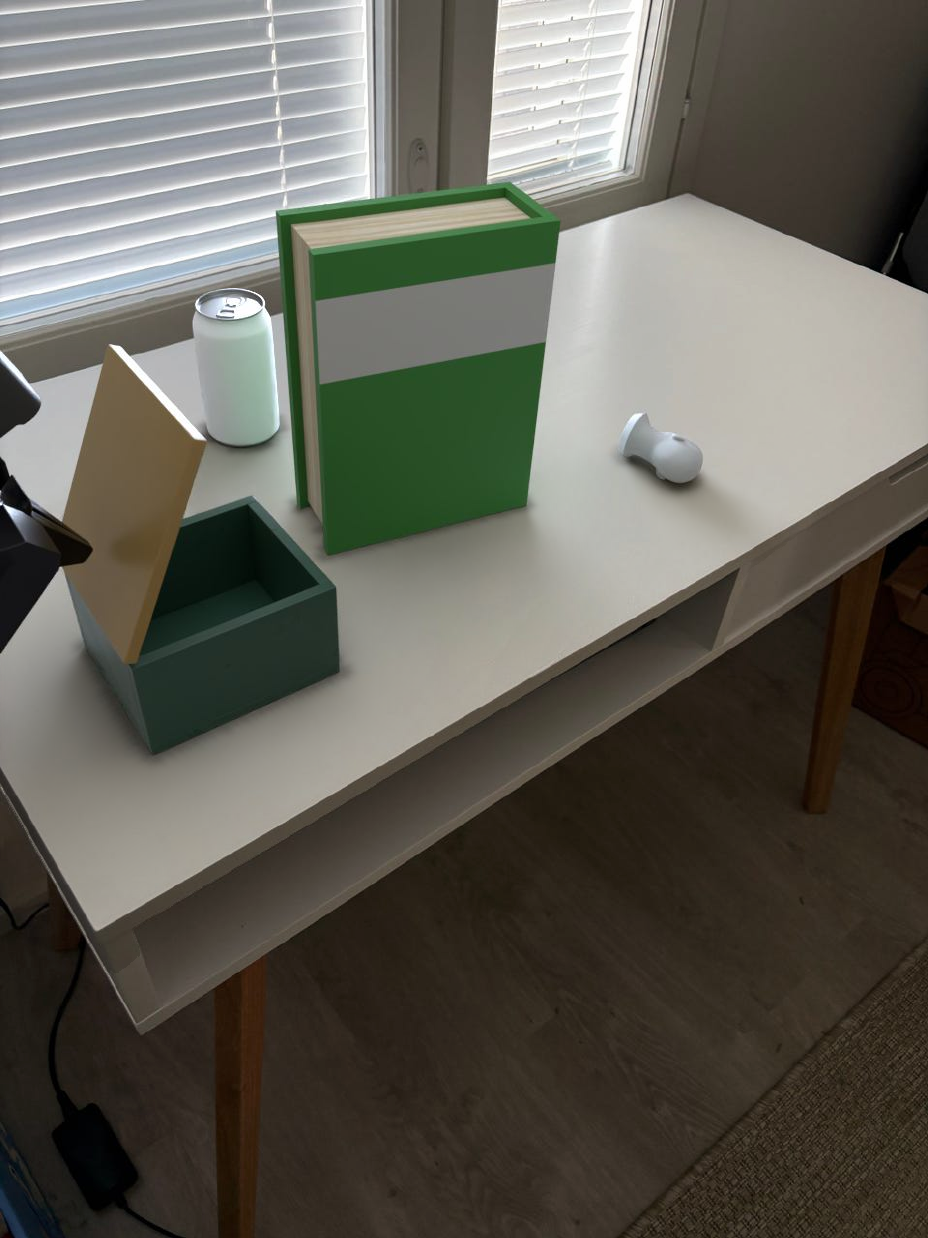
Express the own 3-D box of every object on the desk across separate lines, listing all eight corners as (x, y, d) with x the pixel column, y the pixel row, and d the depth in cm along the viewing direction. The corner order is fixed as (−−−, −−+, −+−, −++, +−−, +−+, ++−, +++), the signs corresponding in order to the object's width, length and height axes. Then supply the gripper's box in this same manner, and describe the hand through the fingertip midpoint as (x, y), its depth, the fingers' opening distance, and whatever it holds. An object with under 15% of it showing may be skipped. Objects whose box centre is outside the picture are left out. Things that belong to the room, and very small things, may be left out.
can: (287, 413, 93) (278, 289, 85) (270, 452, 88) (258, 325, 80) (218, 406, 93) (202, 282, 85) (197, 444, 89) (178, 317, 81)
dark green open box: (261, 578, 76) (252, 494, 71) (340, 671, 70) (336, 586, 64) (84, 646, 70) (60, 560, 65) (152, 756, 63) (131, 669, 58)
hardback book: (327, 555, 79) (313, 254, 62) (296, 502, 83) (275, 210, 67) (526, 505, 85) (560, 220, 69) (486, 458, 90) (510, 181, 73)
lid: (120, 345, 59) (107, 343, 58) (208, 440, 52) (194, 439, 51) (65, 554, 65) (52, 554, 64) (136, 664, 58) (123, 664, 58)
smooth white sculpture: (703, 491, 90) (670, 496, 86) (639, 448, 94) (605, 450, 91) (725, 448, 88) (691, 451, 84) (658, 405, 92) (623, 406, 88)
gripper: (-46, 397, 39) (239, 527, 52) (-157, 227, 50) (102, 369, 63) (-190, 618, 41) (120, 692, 54) (-267, 409, 52) (7, 511, 65)
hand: (87, 552), depth 59 cm, fingers closed
